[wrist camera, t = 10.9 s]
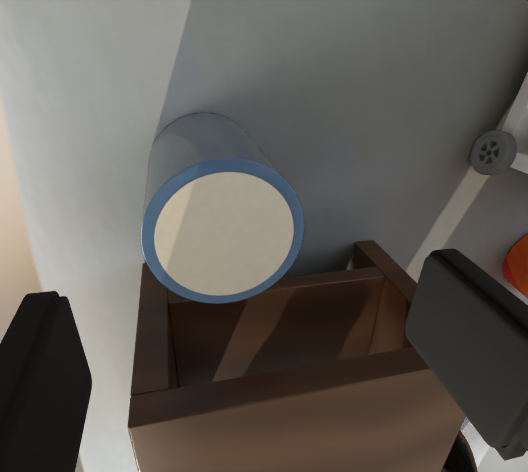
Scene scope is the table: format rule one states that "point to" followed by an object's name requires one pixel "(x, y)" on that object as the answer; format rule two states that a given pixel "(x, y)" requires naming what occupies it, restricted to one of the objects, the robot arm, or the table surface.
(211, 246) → the blue cup
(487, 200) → the table surface
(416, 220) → the table surface
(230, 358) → the walnut shelf
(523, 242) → the coffee cup
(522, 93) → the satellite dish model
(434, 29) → the table surface
